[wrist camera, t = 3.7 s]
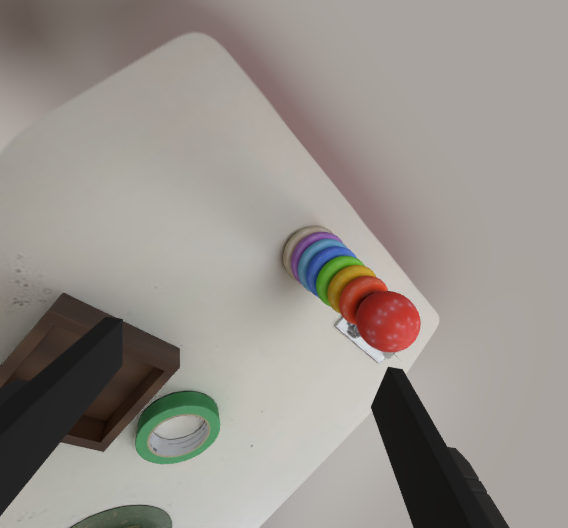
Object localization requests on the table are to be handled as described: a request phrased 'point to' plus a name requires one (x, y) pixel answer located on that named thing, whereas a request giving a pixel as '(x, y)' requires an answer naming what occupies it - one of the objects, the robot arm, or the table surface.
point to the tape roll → (180, 448)
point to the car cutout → (361, 340)
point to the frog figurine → (128, 518)
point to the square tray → (122, 387)
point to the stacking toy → (351, 289)
